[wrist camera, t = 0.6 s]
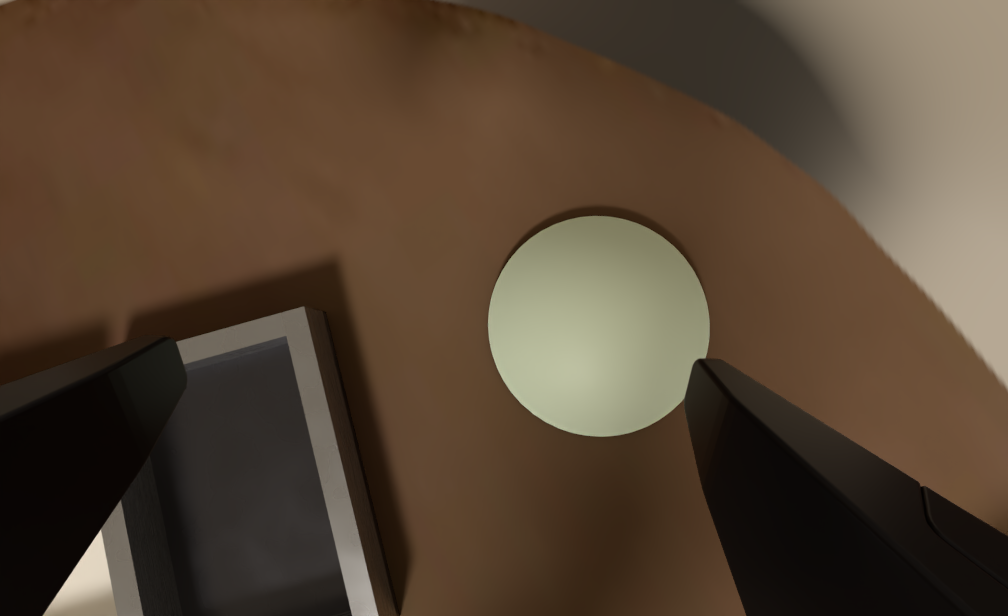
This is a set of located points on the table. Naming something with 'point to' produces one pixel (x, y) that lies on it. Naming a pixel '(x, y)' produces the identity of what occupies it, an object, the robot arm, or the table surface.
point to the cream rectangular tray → (86, 587)
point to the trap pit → (253, 487)
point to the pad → (598, 325)
